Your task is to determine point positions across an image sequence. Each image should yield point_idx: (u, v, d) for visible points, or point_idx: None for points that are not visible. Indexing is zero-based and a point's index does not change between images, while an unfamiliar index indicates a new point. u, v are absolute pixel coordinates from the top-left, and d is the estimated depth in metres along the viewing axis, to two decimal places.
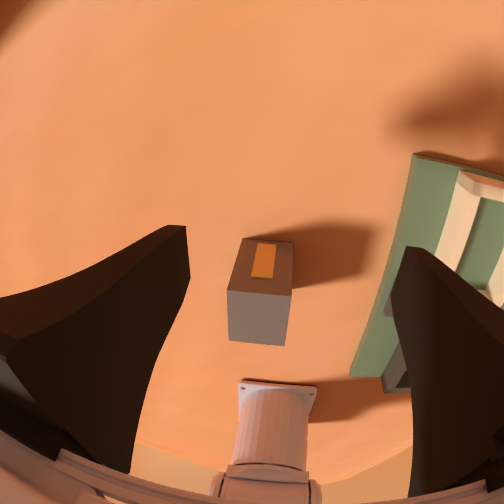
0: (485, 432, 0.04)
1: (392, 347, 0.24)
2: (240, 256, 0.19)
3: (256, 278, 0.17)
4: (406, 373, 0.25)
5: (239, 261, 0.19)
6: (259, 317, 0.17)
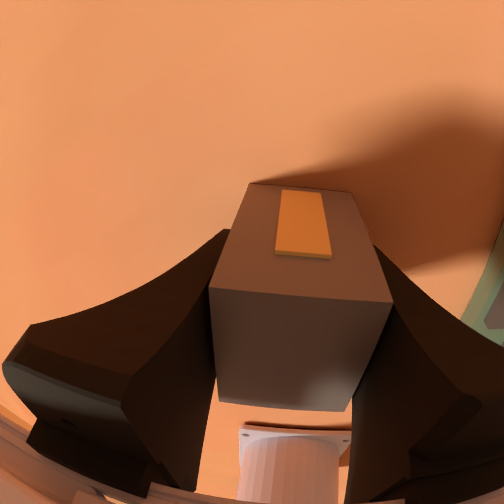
0: (403, 446, 0.04)
1: None
2: (246, 211, 0.08)
3: (290, 256, 0.06)
4: None
5: (244, 220, 0.08)
6: (298, 359, 0.06)
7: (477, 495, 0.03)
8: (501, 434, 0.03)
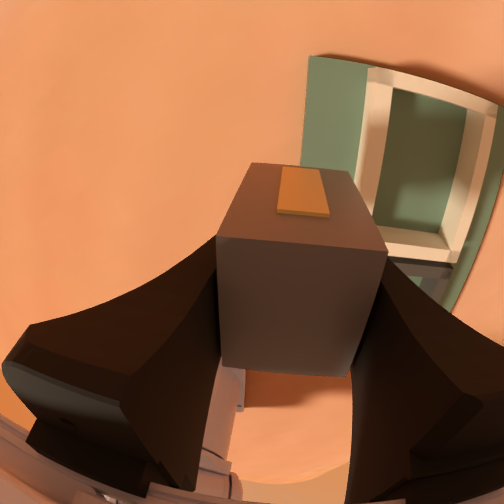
0: (403, 446, 0.04)
1: None
2: (249, 182, 0.09)
3: (291, 214, 0.07)
4: None
5: (247, 188, 0.08)
6: (299, 313, 0.07)
7: (477, 495, 0.03)
8: (501, 434, 0.03)
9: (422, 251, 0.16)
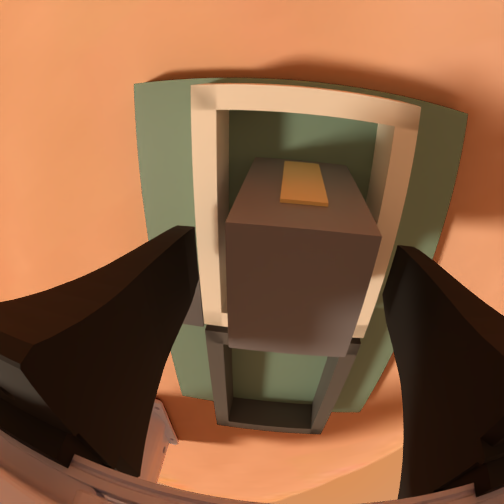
0: (473, 435, 0.04)
1: None
2: (253, 174, 0.09)
3: (293, 203, 0.08)
4: (255, 403, 0.19)
5: (252, 181, 0.09)
6: (301, 295, 0.07)
7: None
8: None
9: None
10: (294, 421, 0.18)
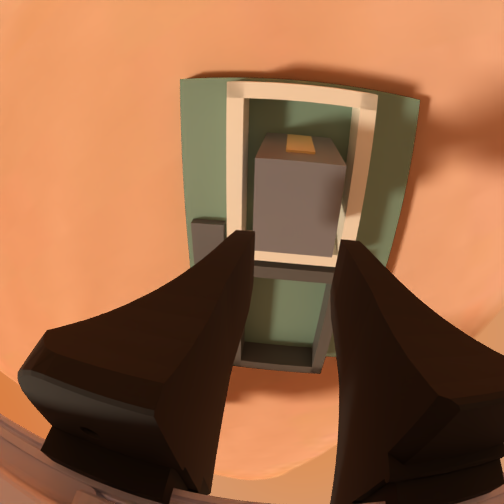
0: (383, 447, 0.04)
1: None
2: (267, 140, 0.14)
3: (294, 152, 0.12)
4: (263, 346, 0.24)
5: (267, 143, 0.14)
6: (300, 205, 0.12)
7: (462, 500, 0.03)
8: (486, 438, 0.03)
9: (304, 256, 0.17)
10: (297, 360, 0.23)
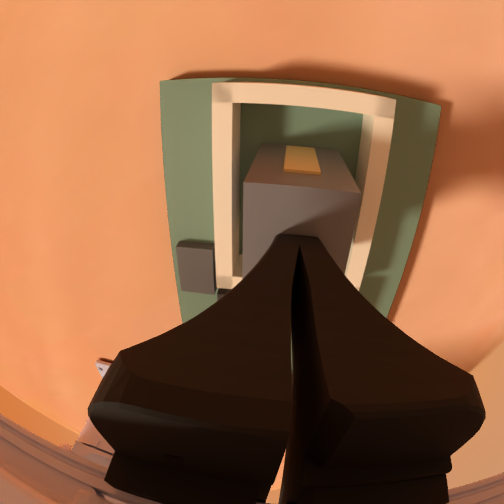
0: (302, 448, 0.04)
1: None
2: (262, 154, 0.12)
3: (293, 172, 0.10)
4: None
5: (261, 158, 0.11)
6: None
7: None
8: (419, 451, 0.03)
9: None
10: None
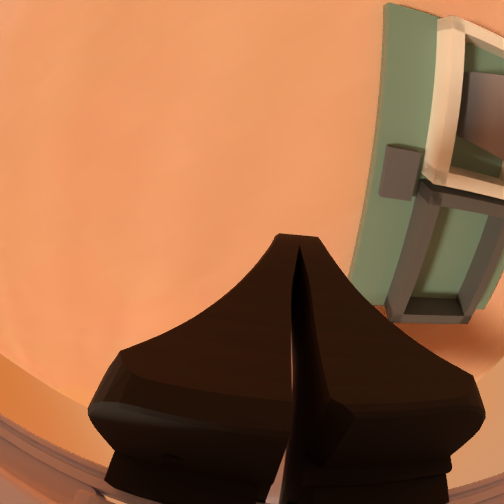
0: (302, 448, 0.04)
1: (395, 255, 0.19)
2: None
3: None
4: (416, 299, 0.20)
5: None
6: None
7: None
8: (419, 451, 0.03)
9: (493, 188, 0.14)
10: (450, 311, 0.19)
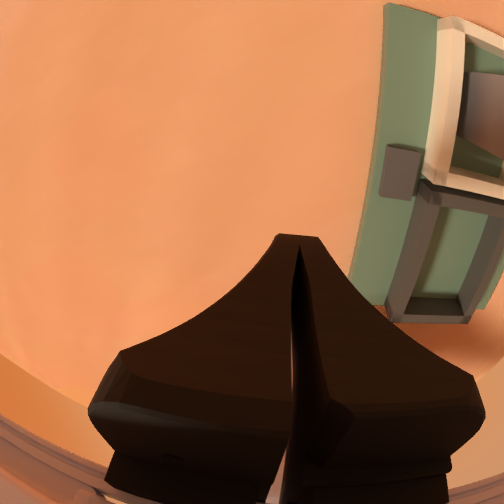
0: (302, 448, 0.04)
1: (395, 255, 0.19)
2: None
3: None
4: (416, 299, 0.20)
5: None
6: None
7: None
8: (419, 451, 0.03)
9: (493, 188, 0.14)
10: (450, 311, 0.19)
